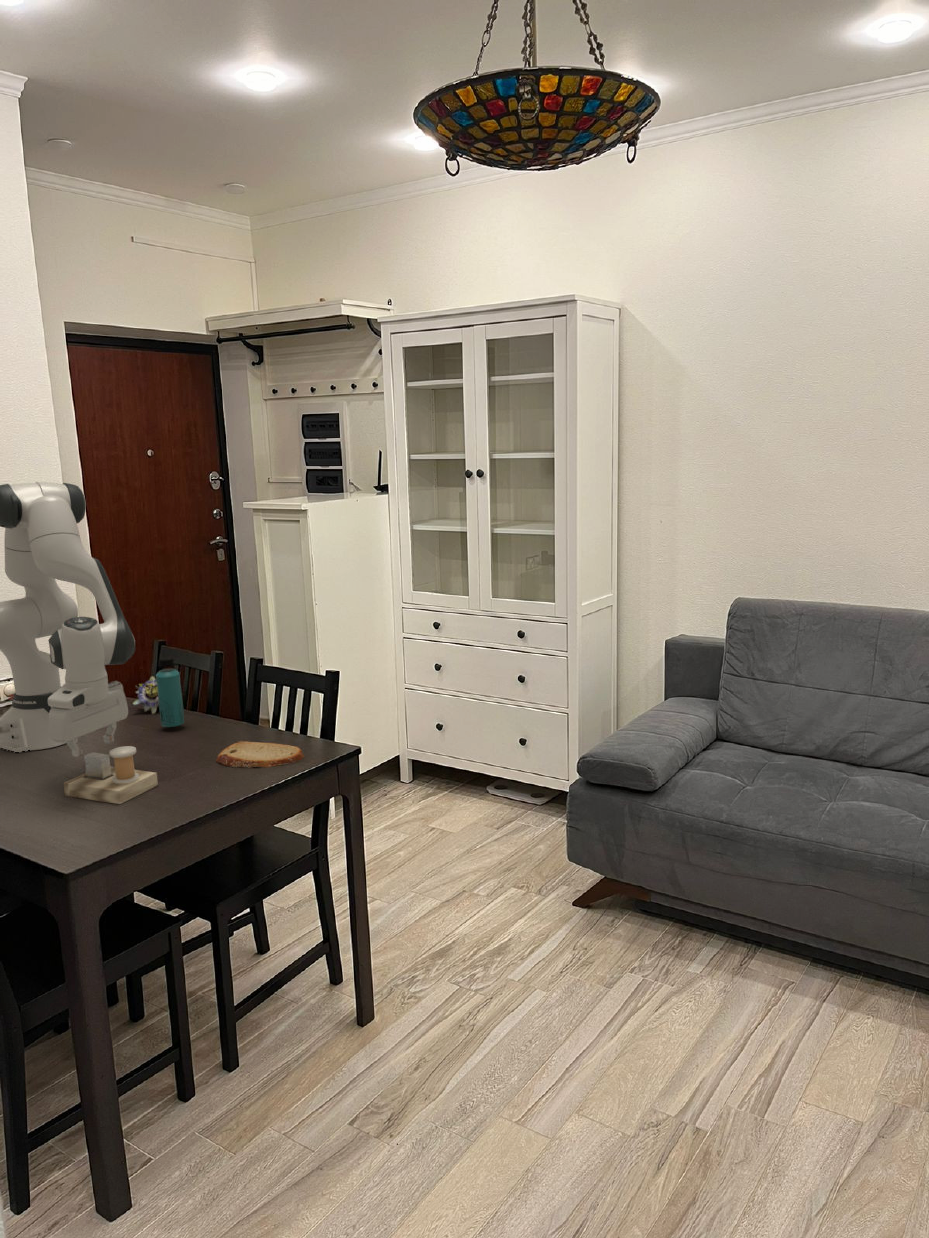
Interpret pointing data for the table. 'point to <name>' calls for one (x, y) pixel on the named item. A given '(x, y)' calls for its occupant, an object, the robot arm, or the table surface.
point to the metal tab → (97, 766)
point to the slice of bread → (258, 754)
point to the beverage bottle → (169, 694)
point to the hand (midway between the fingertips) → (93, 749)
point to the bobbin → (124, 765)
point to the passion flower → (148, 695)
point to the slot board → (109, 787)
